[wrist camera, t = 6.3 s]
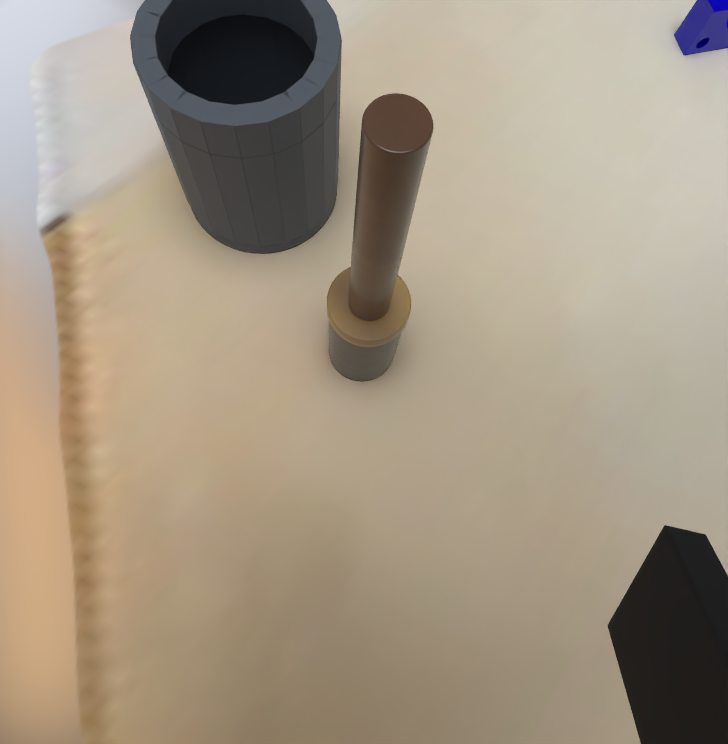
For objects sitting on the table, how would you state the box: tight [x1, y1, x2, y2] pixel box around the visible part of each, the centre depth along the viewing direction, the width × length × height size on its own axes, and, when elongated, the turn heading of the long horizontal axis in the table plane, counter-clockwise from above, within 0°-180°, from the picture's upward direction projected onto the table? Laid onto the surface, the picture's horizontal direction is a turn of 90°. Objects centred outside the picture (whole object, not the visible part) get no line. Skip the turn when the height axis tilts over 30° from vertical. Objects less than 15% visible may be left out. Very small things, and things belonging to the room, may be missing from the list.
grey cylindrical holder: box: [130, 0, 342, 253], centre depth 37 cm, size 10×10×13 cm
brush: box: [327, 94, 433, 381], centre depth 30 cm, size 4×4×22 cm
